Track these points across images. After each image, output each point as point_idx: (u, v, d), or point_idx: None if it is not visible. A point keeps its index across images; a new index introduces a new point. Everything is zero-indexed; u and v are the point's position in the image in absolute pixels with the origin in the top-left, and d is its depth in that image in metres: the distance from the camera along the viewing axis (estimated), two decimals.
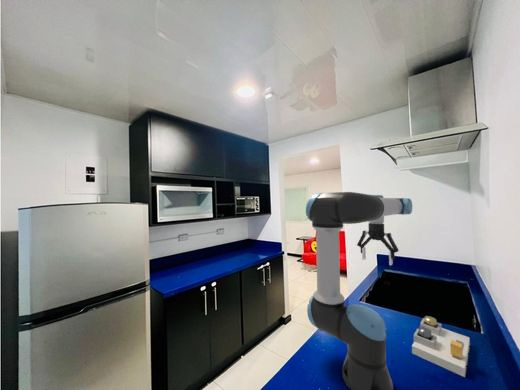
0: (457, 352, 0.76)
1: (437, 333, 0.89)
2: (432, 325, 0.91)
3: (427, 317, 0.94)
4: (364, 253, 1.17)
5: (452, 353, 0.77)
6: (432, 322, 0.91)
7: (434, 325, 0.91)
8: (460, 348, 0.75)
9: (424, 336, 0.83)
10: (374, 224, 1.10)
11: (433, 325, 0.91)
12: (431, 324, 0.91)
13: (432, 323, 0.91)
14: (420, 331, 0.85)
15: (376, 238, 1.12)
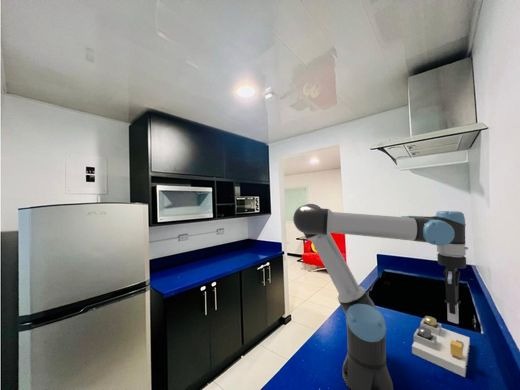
0: (457, 352, 0.76)
1: (437, 333, 0.89)
2: (432, 325, 0.91)
3: (427, 317, 0.94)
4: None
5: (452, 353, 0.77)
6: (432, 322, 0.91)
7: (434, 325, 0.91)
8: (460, 348, 0.75)
9: (424, 336, 0.83)
10: (438, 254, 0.76)
11: (433, 325, 0.91)
12: (431, 324, 0.91)
13: (432, 323, 0.91)
14: (420, 331, 0.85)
15: (447, 277, 0.74)
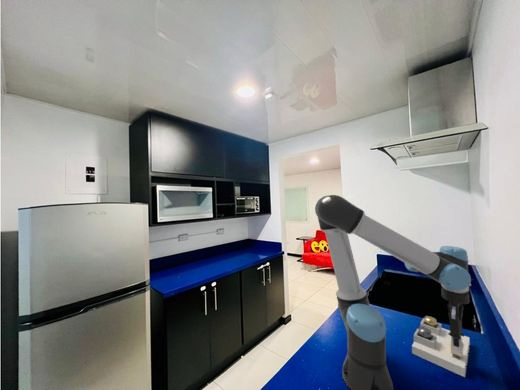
0: None
1: (437, 333, 0.89)
2: (432, 325, 0.91)
3: (427, 317, 0.94)
4: None
5: None
6: (432, 322, 0.91)
7: (434, 325, 0.91)
8: None
9: (424, 336, 0.83)
10: (442, 287, 0.79)
11: (433, 325, 0.91)
12: (431, 324, 0.91)
13: (432, 323, 0.91)
14: (420, 331, 0.85)
15: None
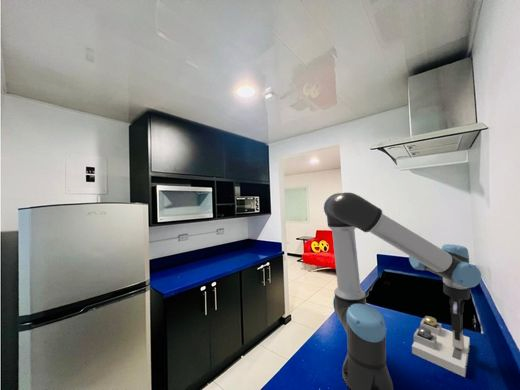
0: None
1: (437, 333, 0.89)
2: (432, 325, 0.91)
3: (427, 317, 0.94)
4: None
5: None
6: (432, 322, 0.91)
7: (434, 325, 0.91)
8: None
9: (424, 336, 0.83)
10: (444, 284, 0.82)
11: (433, 325, 0.91)
12: (431, 324, 0.91)
13: (432, 323, 0.91)
14: (420, 331, 0.85)
15: None
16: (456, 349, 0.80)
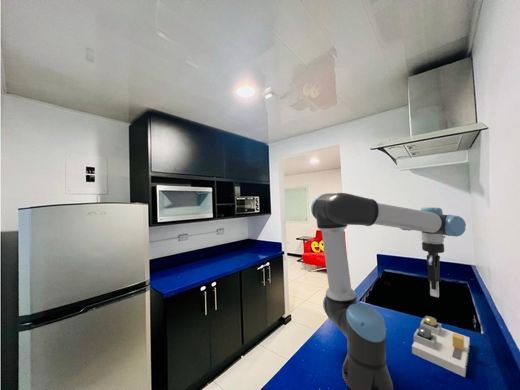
0: (459, 344, 0.80)
1: (437, 333, 0.89)
2: (432, 325, 0.91)
3: (427, 317, 0.94)
4: None
5: (454, 345, 0.81)
6: (432, 322, 0.91)
7: (434, 325, 0.91)
8: (462, 340, 0.79)
9: (424, 336, 0.83)
10: (422, 242, 0.94)
11: (433, 325, 0.91)
12: (431, 324, 0.91)
13: (432, 323, 0.91)
14: (420, 331, 0.85)
15: None
16: (456, 349, 0.80)
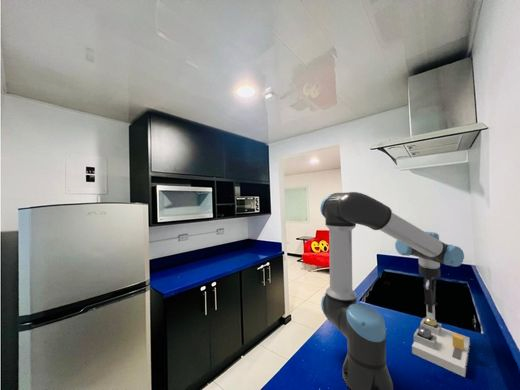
0: (459, 344, 0.80)
1: (437, 333, 0.89)
2: (432, 326, 0.91)
3: (427, 318, 0.94)
4: None
5: (454, 345, 0.81)
6: (432, 323, 0.91)
7: (434, 326, 0.91)
8: (462, 340, 0.79)
9: (424, 336, 0.83)
10: (419, 265, 0.96)
11: (433, 326, 0.91)
12: (431, 325, 0.91)
13: (432, 324, 0.91)
14: (420, 331, 0.85)
15: None
16: (456, 349, 0.80)
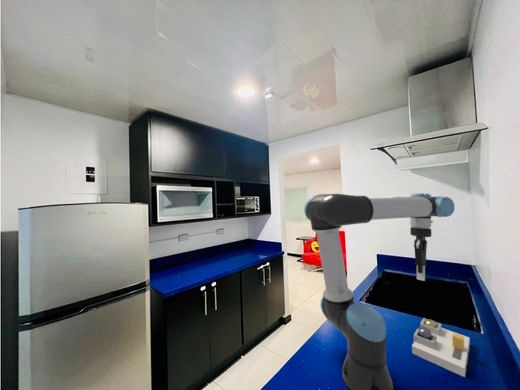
0: (459, 344, 0.80)
1: (437, 333, 0.89)
2: None
3: (427, 320, 0.94)
4: None
5: (454, 345, 0.81)
6: (432, 325, 0.91)
7: None
8: (462, 340, 0.79)
9: (424, 336, 0.83)
10: (411, 227, 0.96)
11: None
12: None
13: None
14: (420, 331, 0.85)
15: None
16: (456, 349, 0.80)
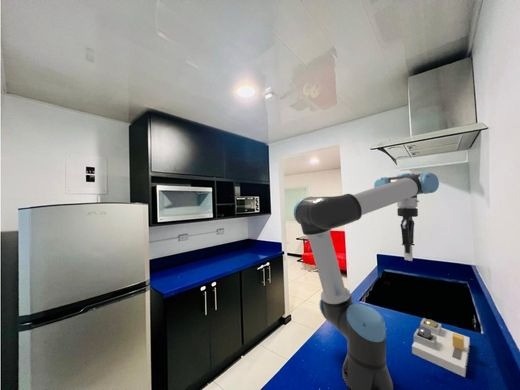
0: (459, 344, 0.80)
1: (437, 333, 0.89)
2: None
3: (427, 320, 0.94)
4: None
5: (454, 345, 0.81)
6: (432, 325, 0.91)
7: None
8: (462, 340, 0.79)
9: (424, 336, 0.83)
10: (398, 208, 0.96)
11: None
12: None
13: None
14: (420, 331, 0.85)
15: None
16: (456, 349, 0.80)
